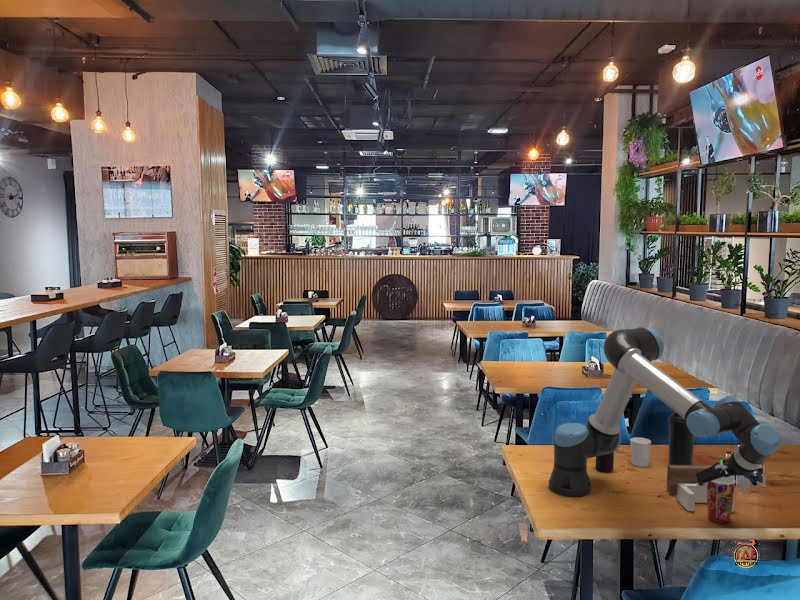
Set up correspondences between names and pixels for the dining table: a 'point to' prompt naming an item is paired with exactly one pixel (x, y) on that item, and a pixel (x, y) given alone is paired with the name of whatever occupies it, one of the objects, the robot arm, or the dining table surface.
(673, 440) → the water bottle
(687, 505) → the frame
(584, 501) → the dining table surface
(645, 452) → the white cup
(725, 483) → the smoothie
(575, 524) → the dining table surface
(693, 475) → the backstop wall
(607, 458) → the vinegar
